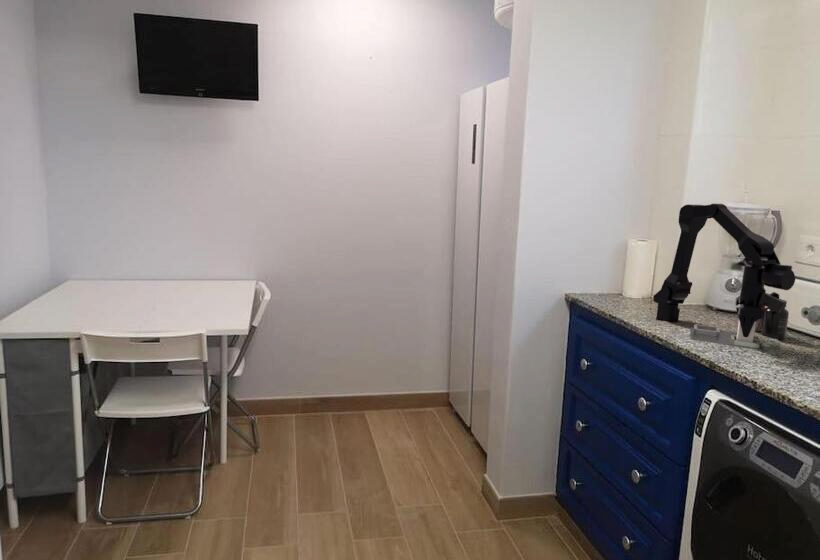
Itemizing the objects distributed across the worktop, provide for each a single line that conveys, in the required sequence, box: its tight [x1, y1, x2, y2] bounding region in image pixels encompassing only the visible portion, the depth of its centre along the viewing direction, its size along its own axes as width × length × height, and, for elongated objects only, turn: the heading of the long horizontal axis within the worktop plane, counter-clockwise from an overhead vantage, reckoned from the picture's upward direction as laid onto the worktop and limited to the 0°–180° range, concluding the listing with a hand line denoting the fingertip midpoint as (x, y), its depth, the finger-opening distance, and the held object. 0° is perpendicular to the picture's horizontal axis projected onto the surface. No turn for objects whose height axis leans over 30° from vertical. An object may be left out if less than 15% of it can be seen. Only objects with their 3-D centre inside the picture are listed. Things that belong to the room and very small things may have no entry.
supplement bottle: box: [760, 299, 790, 341], centre depth 191 cm, size 7×7×12 cm
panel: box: [689, 323, 763, 351], centre depth 186 cm, size 19×16×2 cm
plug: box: [736, 320, 756, 342], centre depth 180 cm, size 4×4×7 cm
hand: (745, 335), depth 180 cm, fingers closed on plug, 4 cm apart
